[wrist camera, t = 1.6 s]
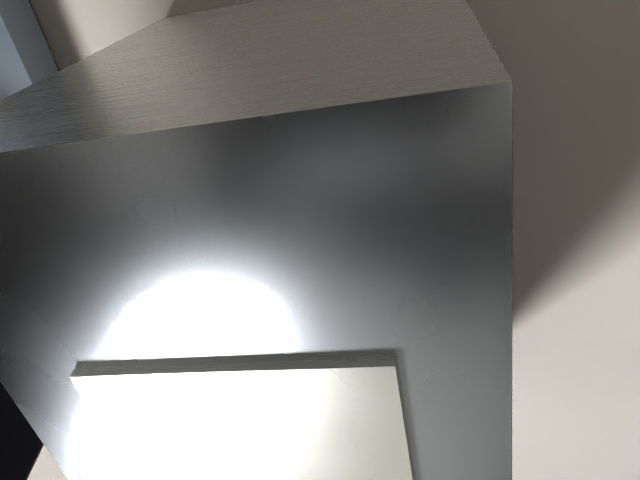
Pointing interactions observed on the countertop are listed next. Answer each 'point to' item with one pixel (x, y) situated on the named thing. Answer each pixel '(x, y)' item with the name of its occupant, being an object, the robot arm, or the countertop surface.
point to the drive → (265, 248)
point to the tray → (22, 48)
